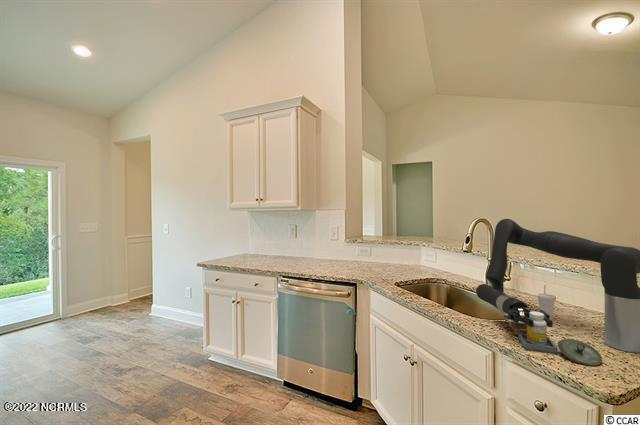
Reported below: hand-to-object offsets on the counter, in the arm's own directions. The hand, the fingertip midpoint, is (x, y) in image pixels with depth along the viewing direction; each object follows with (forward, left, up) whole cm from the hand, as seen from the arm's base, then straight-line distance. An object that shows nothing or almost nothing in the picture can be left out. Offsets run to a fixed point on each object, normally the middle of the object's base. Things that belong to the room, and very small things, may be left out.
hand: (541, 324), depth 98 cm
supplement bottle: (+1, -2, -7) cm, 8 cm away
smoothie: (-10, -34, -9) cm, 36 cm away
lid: (-9, +3, -9) cm, 13 cm away
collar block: (+1, -14, -8) cm, 17 cm away
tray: (+1, -2, -8) cm, 9 cm away
